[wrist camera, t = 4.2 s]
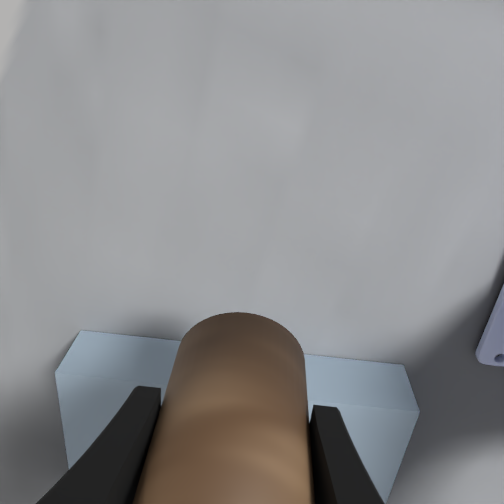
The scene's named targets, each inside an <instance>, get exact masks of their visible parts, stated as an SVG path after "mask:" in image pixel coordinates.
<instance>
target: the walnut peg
mask: <svg viewBox="0 0 504 504" xmlns="http://www.w3.org/2000/svg"><path fill="white" fill-rule="evenodd" d="M132 504H315V495H314V481H313V466H312V452H311V438H310V424H309V410H308V396H307V382H306V368H305V358H304V353H303V351H302V348H301V346H300V344H299V343H298V341H297V339H296V338H295V337H294V336H293V335H292V334H291V333H290V332H289V331H288V330H287V329H286V328H284V327H283V326H282V325H280V324H279V323H277V322H275V321H273V320H271V319H268V318H266V317H263V316H260V315H256V314H251V313H241V312H234V313H224V314H219V315H215V316H212V317H209V318H207V319H205V320H203V321H201V322H199V323H198V324H196V325H195V326H194V327H192V328H191V329H190V330H189V331H188V332H187V333H186V335H185V336H184V338H183V339H182V341H181V343H180V345H179V348H178V352H177V355H176V358H175V362H174V365H173V368H172V372H171V375H170V378H169V382H168V385H167V389H166V392H165V395H164V399H163V402H162V405H161V409H160V412H159V416H158V419H157V422H156V426H155V429H154V432H153V436H152V439H151V443H150V446H149V449H148V453H147V456H146V459H145V463H144V466H143V470H142V473H141V476H140V480H139V483H138V486H137V490H136V493H135V497H134V500H133V503H132Z"/></svg>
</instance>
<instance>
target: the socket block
mask: <svg viewBox="0 0 504 504" xmlns="http://www.w3.org/2000/svg"><path fill="white" fill-rule="evenodd" d="M180 343H181V341H176V340H167V339H158V338H148V337H139V336H130V335H120V334H111V333H102V332H92V331H83V330H81V331H80V333H79V334H78V336H77V337H76V339H75V341H74V342H73V344H72V346H71V347H70V349H69V350H68V352H67V354H66V355H65V357H64V359H63V360H62V362H61V364H60V365H59V367H58V368H57V370H56V372H55V378H56V385H57V392H58V399H59V405H60V412H61V419H62V426H63V433H64V440H65V447H66V454H67V460H68V467H69V469H70V468H71V467H72V466H73V465H74V464H75V463H76V462H77V461H78V459H79V458H80V457H81V456H82V455H83V454H84V453H85V452H86V450H87V449H88V448H89V447H90V446H91V444H92V443H93V442H94V441H95V440H96V438H97V437H98V436H99V435H100V434H101V432H102V431H103V430H104V429H105V427H106V426H107V425H108V424H109V422H110V421H111V420H112V418H113V417H114V416H115V415H116V413H117V412H118V411H119V409H120V408H121V407H122V405H123V404H124V402H125V401H126V400H127V398H128V397H129V395H130V394H131V392H132V391H133V389H134V388H135V387H137V386H148V387H157V388H161V405H162V402H163V399H164V395H165V392H166V389H167V385H168V382H169V378H170V375H171V372H172V368H173V365H174V362H175V358H176V355H177V352H178V348H179V345H180ZM304 358H305V368H306V382H307V396H308V410H309V423H310V418H311V414H312V409H313V405H322V406H331V407H337V408H338V409H339V411H340V413H341V416H342V418H343V421H344V423H345V426H346V428H347V430H348V433H349V435H350V437H351V439H352V442H353V444H354V446H355V448H356V450H357V452H358V454H359V456H360V458H361V460H362V462H363V464H364V466H365V468H366V470H367V472H368V474H369V476H370V478H371V480H372V482H373V483H374V485H375V487H376V489H377V491H378V493H379V494H380V496H381V498H382V500H383V502H384V503H385V504H386V502H387V499H388V497H389V494H390V491H391V489H392V486H393V483H394V481H395V478H396V475H397V473H398V470H399V467H400V465H401V462H402V459H403V456H404V454H405V451H406V448H407V446H408V443H409V440H410V438H411V435H412V432H413V430H414V427H415V424H416V421H417V419H418V416H419V413H420V411H419V408H418V405H417V402H416V399H415V396H414V393H413V391H412V388H411V385H410V382H409V379H408V376H407V373H406V371H405V368H404V365H400V364H391V363H382V362H372V361H363V360H354V359H344V358H335V357H326V356H316V355H307V354H304Z"/></svg>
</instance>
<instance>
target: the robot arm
mask: <svg viewBox="0 0 504 504" xmlns="http://www.w3.org/2000/svg"><path fill="white" fill-rule="evenodd" d="M498 354H501V355H500V356H498V357H495V356H496V355H498ZM475 355H476V357H477V359H478V361H479V362H480V363H482V364H485V365H494V366H503V367H504V285H503V287H502V289H501V292H500V294H499V297H498V299H497V301H496V304H495V306H494V309H493V311H492V313H491V316H490V318H489V321H488V323H487V325H486V328H485V330H484V333H483V335H482V338H481V340H480V342H479V345H478V347H477V350H476V353H475ZM160 409H161V388H157V387H148V386H137V387H135V388H134V389H133V391H132V392H131V394H130V395H129V397H128V398H127V400H126V401H125V402H124V404H123V405H122V407H121V408H120V409H119V411H118V412H117V413H116V415H115V416H114V417H113V418H112V420H111V421H110V422H109V424H108V425H107V426H106V427H105V429H104V430H103V431H102V432H101V434H100V435H99V436H98V437H97V438H96V440H95V441H94V442H93V443H92V444H91V446H90V447H89V448H88V449H87V450H86V452H85V453H84V454H83V455H82V456H81V457H80V458H79V459H78V461H77V462H76V463H75V464H74V465H73V466H72V467H71V468H70V469H69V470H68V471H67V473H66V474H65V475H64V476H63V477H62V478H61V479H60V480H59V481H58V482H57V483H56V484H55V485H54V486H53V487H52V488H51V489H50V490H49V491H48V492H47V493H46V494H45V495H44V496H43V497H42V498H41V499H40V500H39V501H38V502H37V503H36V504H132V503H133V500H134V497H135V493H136V490H137V486H138V483H139V480H140V476H141V473H142V470H143V466H144V463H145V459H146V456H147V453H148V449H149V446H150V443H151V439H152V436H153V432H154V429H155V426H156V422H157V419H158V416H159V412H160ZM309 424H310V438H311V452H312V466H313V481H314V495H315V504H385V503H384V502H383V500H382V498H381V496H380V494H379V493H378V491H377V489H376V487H375V485H374V483H373V482H372V480H371V478H370V476H369V474H368V472H367V470H366V468H365V466H364V464H363V462H362V460H361V458H360V456H359V454H358V452H357V450H356V448H355V446H354V444H353V442H352V439H351V437H350V435H349V433H348V430H347V428H346V426H345V423H344V421H343V418H342V416H341V413H340V411H339V409H338V408H337V407H331V406H322V405H313V409H312V414H311V418H310V423H309Z"/></svg>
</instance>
